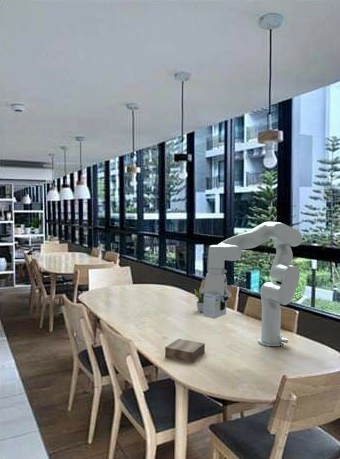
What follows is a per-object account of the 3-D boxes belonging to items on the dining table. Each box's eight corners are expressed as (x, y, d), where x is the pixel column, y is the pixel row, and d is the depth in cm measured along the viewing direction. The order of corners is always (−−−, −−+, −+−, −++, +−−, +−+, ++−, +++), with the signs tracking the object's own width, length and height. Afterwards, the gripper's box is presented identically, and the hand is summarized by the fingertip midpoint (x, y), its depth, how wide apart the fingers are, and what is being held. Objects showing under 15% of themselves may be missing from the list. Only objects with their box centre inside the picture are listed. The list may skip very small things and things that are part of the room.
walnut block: (204, 353, 185) (204, 343, 185) (192, 363, 173) (192, 352, 173) (178, 348, 192) (178, 338, 191) (165, 357, 179) (165, 347, 179)
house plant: (213, 308, 269) (214, 285, 268) (214, 313, 255) (214, 289, 255) (193, 307, 270) (193, 284, 270) (192, 313, 257) (192, 288, 256)
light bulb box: (214, 312, 189) (215, 290, 188) (226, 314, 184) (227, 292, 184) (202, 316, 180) (203, 293, 180) (214, 319, 176) (215, 295, 175)
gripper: (236, 272, 180) (235, 309, 181) (202, 268, 189) (201, 304, 190) (230, 274, 174) (229, 313, 174) (195, 270, 183) (194, 307, 183)
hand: (214, 308), depth 182 cm, fingers closed on light bulb box, 7 cm apart
